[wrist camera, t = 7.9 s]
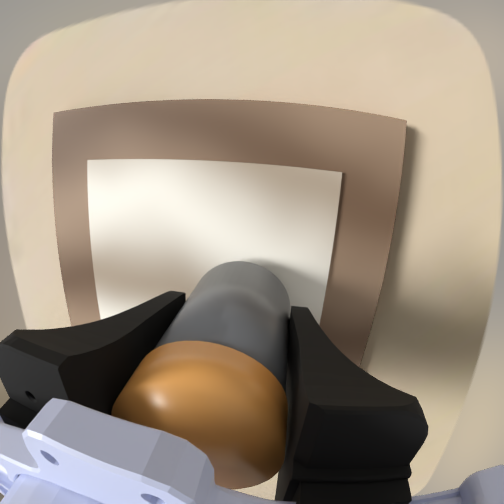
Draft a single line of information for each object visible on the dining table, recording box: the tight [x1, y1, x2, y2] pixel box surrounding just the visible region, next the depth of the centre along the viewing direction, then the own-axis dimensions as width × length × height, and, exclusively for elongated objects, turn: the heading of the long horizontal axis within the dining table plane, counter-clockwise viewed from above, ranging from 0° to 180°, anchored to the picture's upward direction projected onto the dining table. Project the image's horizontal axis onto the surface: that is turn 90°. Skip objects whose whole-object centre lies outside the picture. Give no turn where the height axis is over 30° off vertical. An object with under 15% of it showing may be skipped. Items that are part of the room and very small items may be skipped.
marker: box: [112, 261, 290, 489], centre depth 10 cm, size 4×4×8 cm
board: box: [52, 99, 407, 367], centre depth 15 cm, size 18×16×1 cm
